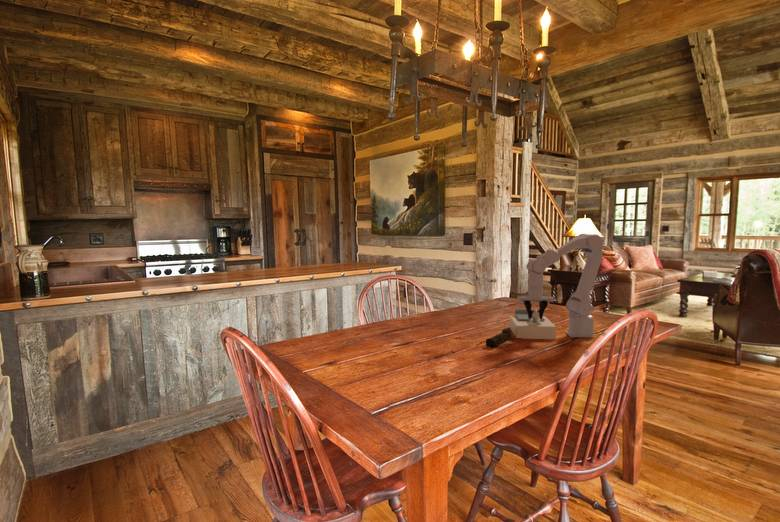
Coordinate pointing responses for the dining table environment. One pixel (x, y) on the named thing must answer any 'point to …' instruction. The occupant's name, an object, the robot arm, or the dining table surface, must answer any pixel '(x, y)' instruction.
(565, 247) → the robot arm
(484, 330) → the dining table surface
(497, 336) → the hand tool
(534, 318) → the peg
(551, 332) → the housing
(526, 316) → the cover
